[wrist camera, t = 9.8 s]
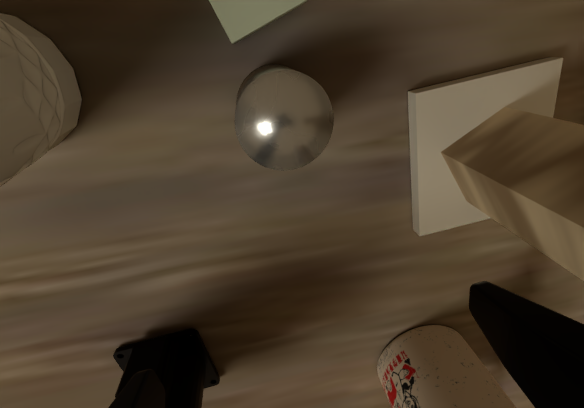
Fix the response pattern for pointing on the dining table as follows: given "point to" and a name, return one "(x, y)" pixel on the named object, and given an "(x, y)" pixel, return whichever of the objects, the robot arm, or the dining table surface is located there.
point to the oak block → (527, 180)
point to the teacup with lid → (437, 372)
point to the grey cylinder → (282, 117)
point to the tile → (458, 122)
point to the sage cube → (250, 15)
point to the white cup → (32, 96)
